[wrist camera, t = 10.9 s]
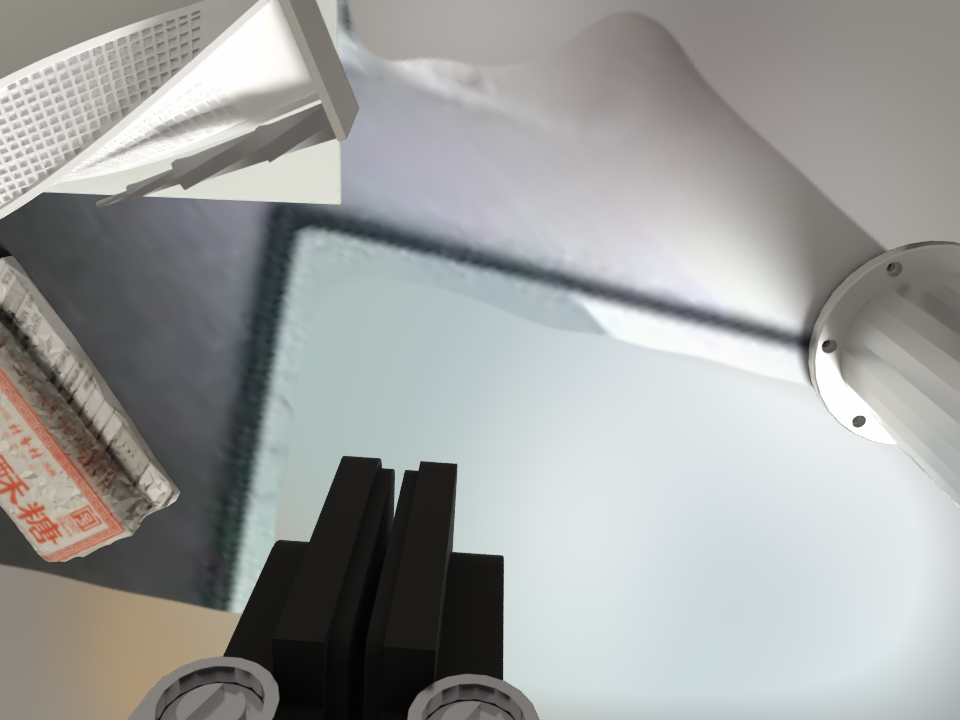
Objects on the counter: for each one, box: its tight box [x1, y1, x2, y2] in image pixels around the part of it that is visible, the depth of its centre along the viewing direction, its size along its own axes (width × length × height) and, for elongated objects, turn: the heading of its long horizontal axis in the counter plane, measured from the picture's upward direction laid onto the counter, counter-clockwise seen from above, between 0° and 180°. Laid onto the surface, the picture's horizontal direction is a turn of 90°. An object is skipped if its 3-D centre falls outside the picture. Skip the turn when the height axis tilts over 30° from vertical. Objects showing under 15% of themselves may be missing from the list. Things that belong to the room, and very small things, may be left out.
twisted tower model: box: [0, 0, 359, 219], centre depth 42 cm, size 8×8×28 cm
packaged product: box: [0, 256, 180, 562], centre depth 50 cm, size 18×5×10 cm
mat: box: [0, 0, 342, 204], centre depth 45 cm, size 23×11×1 cm, turn 88°
